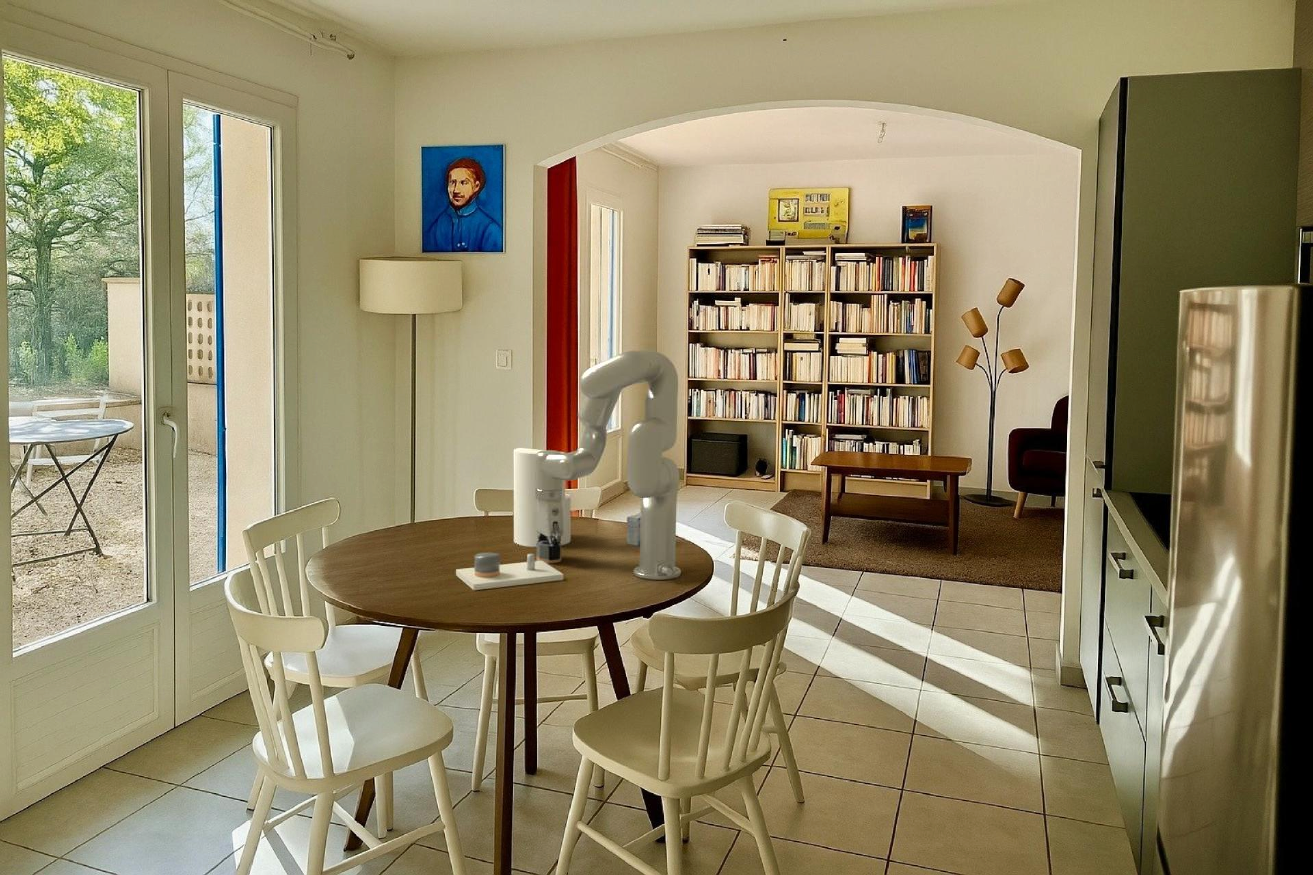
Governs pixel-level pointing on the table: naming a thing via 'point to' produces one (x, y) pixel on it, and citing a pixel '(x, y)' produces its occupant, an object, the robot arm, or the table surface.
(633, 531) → the medicine box
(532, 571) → the pin board
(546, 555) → the sleeve
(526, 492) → the cylinder
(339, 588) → the table surface
